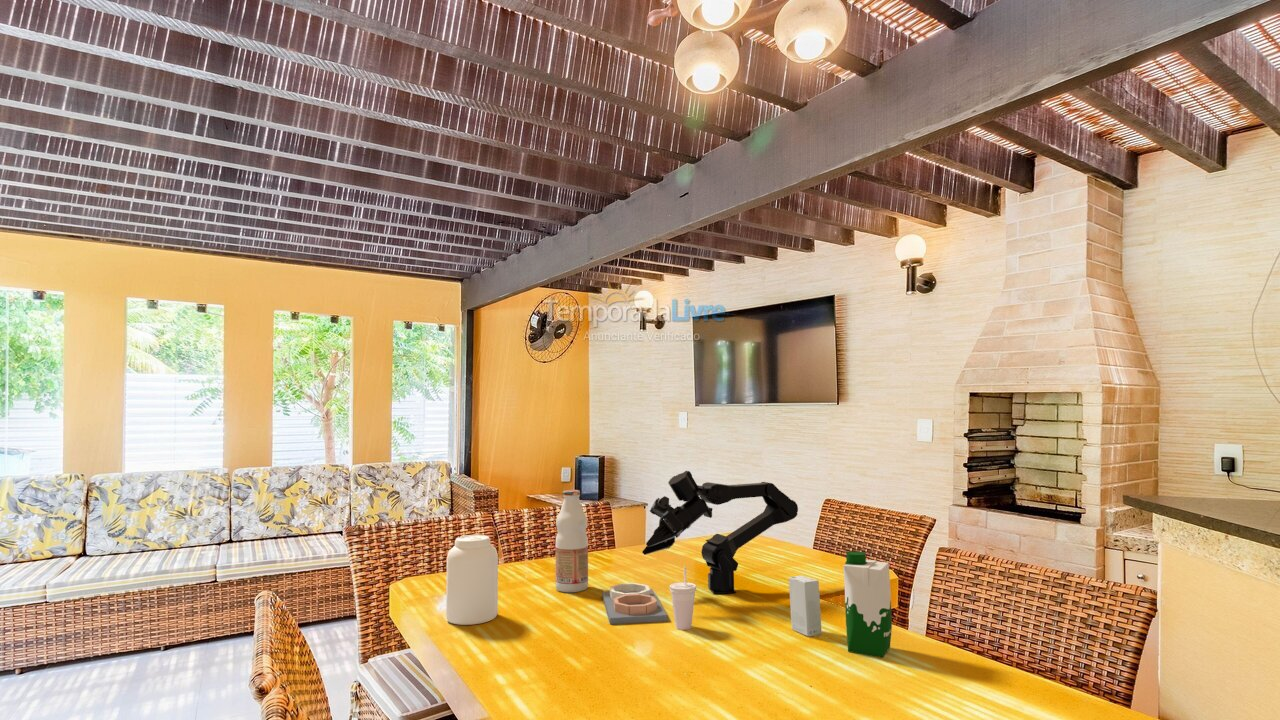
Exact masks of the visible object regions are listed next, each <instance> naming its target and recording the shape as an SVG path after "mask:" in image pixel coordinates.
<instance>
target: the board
mask: <svg viewBox="0 0 1280 720" xmlns="http://www.w3.org/2000/svg"><path fill="white" fill-rule="evenodd" d="M601 594H602V595H601V598H602V600H603V605H604V608H605V611H606V615H607V618H608V623H609V625H622V624H623V625H624V624H641V623H642V624H643V623H645V624H646V623H660V622H661V623H663V622H668V614H667V612H666V610H665V609H664V607H663V605H662V604H661V601H660V600H659V598H658V596H657V595H656V593H655V591H654V589H653V588H650V586H649V585H647V584H644V583H643V584H642V583H635V582H630V583H629V582H628V583H617V584H615V585H612V586H610V587H609V590H602V591H601Z"/></svg>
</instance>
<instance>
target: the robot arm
mask: <svg viewBox="0 0 1280 720" xmlns="http://www.w3.org/2000/svg"><path fill="white" fill-rule="evenodd" d="M668 486H669V487H670V488H671V491H673V493H674V495H675V496H676V498H677V500H678V501H683V504H682V505H679V506H676V507H675V508H674V507H672V505H671V504H670V498H669V497H668V496H665V495H664V496H662V497H660V498H659V497H657V498H655V500H654V502H653V504H652V506H651V508H650V510H649V512H650V513H651V514H652V515H655V516H657V517H658V518H659V520H658V526H657V528H655V529H654V531H653V533H652V535H651V537H650V538H649V539H648V540H647V541H646V543H645V544H646V546H645V548H644V549H643V550H642V554H643V555H648V554H649V555H650V554H652V553H656V552H659V551H665V550H669V549H670V548H671V547H673V546H674V545H675V543H676V539H677V538H678V537H680V535H681V534H682V533H684V531H686V530H688V529H690V527H691V526H692V525H694V524H695V522H696V521H697V520H699V519H701V517H703V516H704V517H706V518H713V507H709V505H708V504H712V505H716V506H717V505H718V506H719V505H722V504H726V503H729V502H730V501H732V500H737V499H747V498H761V497H762V499H763V502H764V503H765V505H766V506H765V509H764V510H763V511H762V512H761V513H760V514H759V515H756V516H755V517H754V518H752V519H750V520H749V521H748V522H746V523H744V524H743V525H741V526H739V528H736V530H734V531H731V533H729V534H728V535H723V534H719V533H715V534H714V535H713V536H712V537H711V538H709V539H706V540H705V543H704V544H703V545H702V547H701V556H702V559H703V560H704V561H705V564H706V566H707V567H709V572H708V574H707V588H708V589H709V590H710V591H711V593H712V594H715V595H718V594H721V595H722V594H736V593H737V590H736V589H735V573H734V572H736V571H737V570H738V566H739V562H738V561H736V559H735V558H734V556H735V555H736V554H737V553H736V552H737V551H738V550H739V549H740V548H742V547H744V546H745V545H746V544H747V543H749V542H751V541H752V540H754V539H755V538H756V537H758V536H760V535H761V534H763V533H764V532H766V531H767V530H768V529H770V528H771V527H773V526H774V525H779V524H783V523H787V522H789V521H792V520H794V519H795V518H796V517H797V516H798V512H799V506H798V504H797V502H796V500H793V499H791V498H790V497H789V496H787V494H786V493H784V492H783V491H782V490H780V489H779V488H778V487H777V486H776V485H775V484H774V483H772V482H767V481H761V482H754V483H753V482H751V483H742V484H741V483H740V484H739V483H738V484H723V483H715V482H709V481H708V482H707V481H706V482H704V483H702V485H698V484H697V482H696V481H695V479H694V478H693V475H692V473H691V471H689V470H685V471H684V472H681V473H678V474H677V475H674V476H672V477H671V478H670V479H669V481H668Z"/></svg>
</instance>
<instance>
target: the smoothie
mask: <svg viewBox="0 0 1280 720" xmlns="http://www.w3.org/2000/svg"><path fill="white" fill-rule="evenodd" d="M668 590H669V591H670V592H671V593H670V594H671V600H672V610H673V616H674V623H675V628H676V629H677V630H681V631H685V630H688V631H689V630H691V629H692V626H693V625H692V624H693V616H694V606H695V596H696V591H697V584H695V583H692V582H687V567H686V566H683V581H681V582H678V581H677V582H674V583H673V582H672V583H670V585H669V589H668Z"/></svg>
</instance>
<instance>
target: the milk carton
mask: <svg viewBox="0 0 1280 720" xmlns="http://www.w3.org/2000/svg"><path fill="white" fill-rule="evenodd" d="M845 555H846V556H845V557H846V561H845V563H844V564H843V566H842V567H843V568H842V569H843V580H844V581H843V582H844V603H845V604H844V605H845V627H846V628H845V629H846V640H847V652H849V653H855V654H859V655H863V656H870V657H875V658H882V659H883V658H884V657H885V655H886V654H887V653H888V651H889V650H890V648H891V639H892V633H893V631H892V630H893V629H892V628H893V625H892V623H893V620H892V619H893V618H892V597H891V596H892V593H891V578H890V577H891V575H890V569H889V568H890V567H889V566H890V564H889V562H885V561H877V560H875V559H874V560H873V559H867V554H866V552H863V551H860V550H849V551H846V554H845Z"/></svg>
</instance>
